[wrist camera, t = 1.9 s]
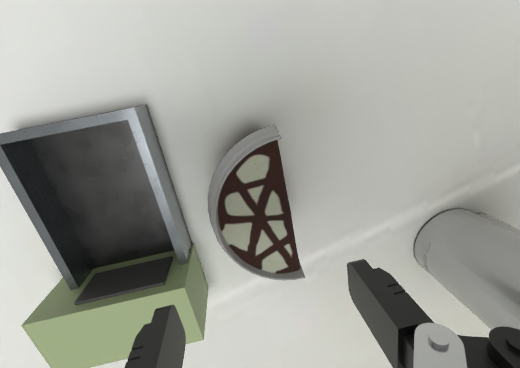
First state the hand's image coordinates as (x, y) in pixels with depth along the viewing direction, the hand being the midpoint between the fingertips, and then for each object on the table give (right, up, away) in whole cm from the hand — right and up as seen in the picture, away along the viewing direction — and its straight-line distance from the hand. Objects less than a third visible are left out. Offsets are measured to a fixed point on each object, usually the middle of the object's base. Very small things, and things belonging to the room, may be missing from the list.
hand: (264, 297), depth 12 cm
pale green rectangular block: (-14, -6, +18) cm, 24 cm away
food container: (-2, +6, +16) cm, 17 cm away
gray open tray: (-15, +4, +15) cm, 21 cm away
